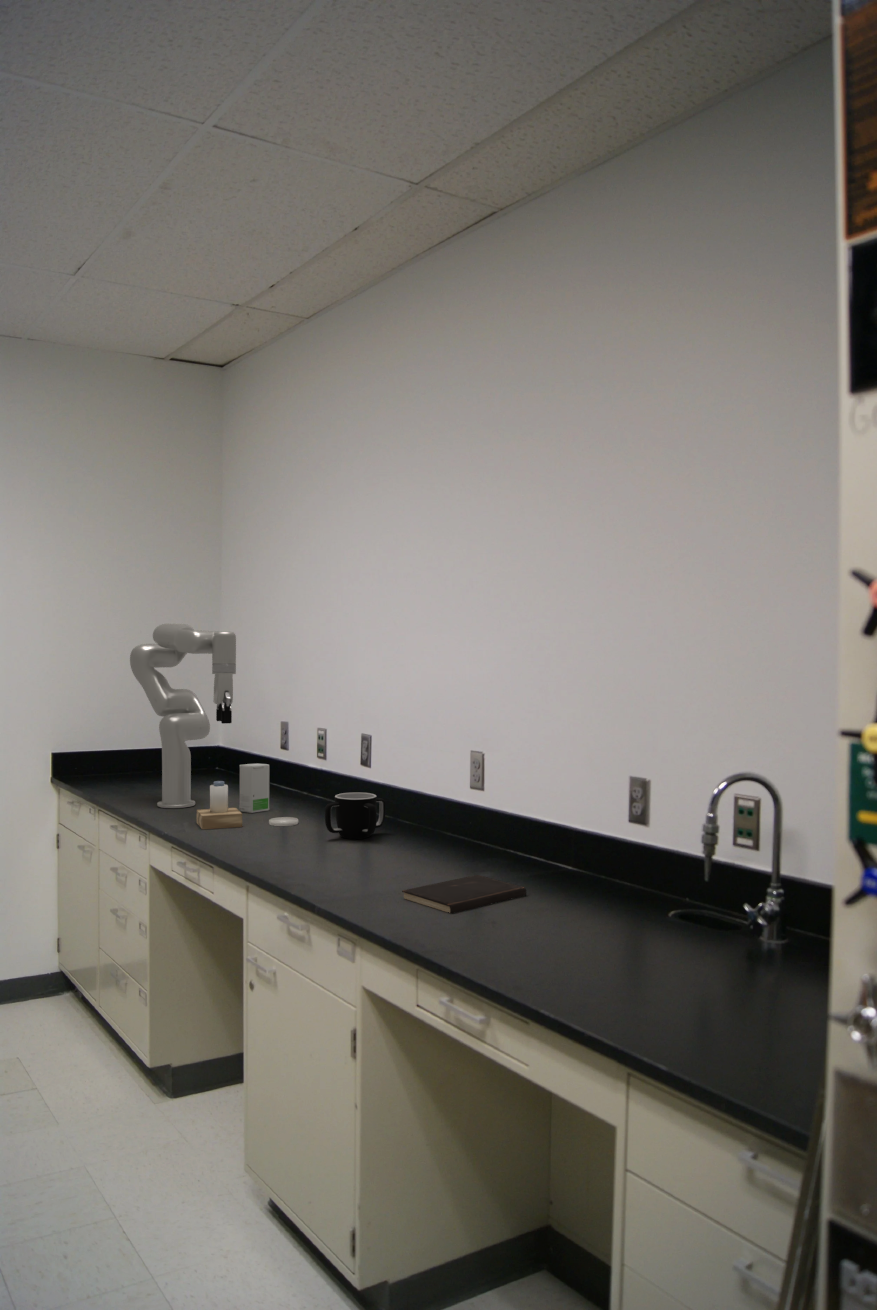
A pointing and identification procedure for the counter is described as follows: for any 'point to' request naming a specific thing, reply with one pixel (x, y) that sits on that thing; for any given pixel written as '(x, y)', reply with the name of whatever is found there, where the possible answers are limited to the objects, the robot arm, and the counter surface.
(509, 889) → the hardcover book
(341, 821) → the mug
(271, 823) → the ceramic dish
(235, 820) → the oak slab
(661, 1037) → the counter surface
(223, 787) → the reagent bottle
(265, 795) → the skincare box
